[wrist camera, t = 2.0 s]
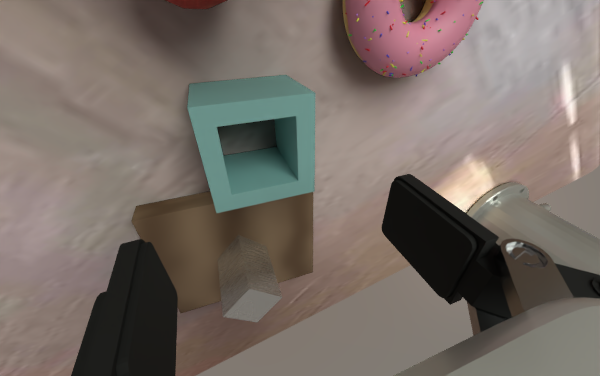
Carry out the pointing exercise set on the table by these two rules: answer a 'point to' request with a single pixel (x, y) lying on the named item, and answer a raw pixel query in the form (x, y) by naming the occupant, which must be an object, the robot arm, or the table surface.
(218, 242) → the post board
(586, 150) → the table surface
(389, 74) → the doughnut
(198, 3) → the onion
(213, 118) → the collar
